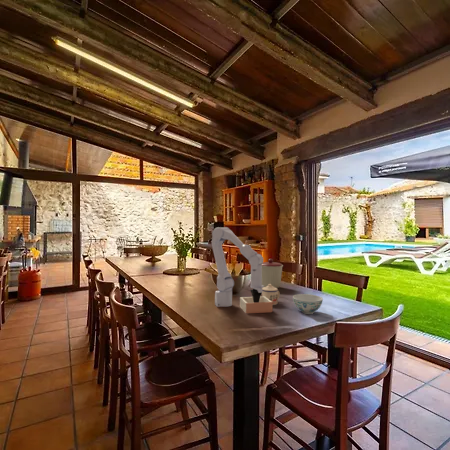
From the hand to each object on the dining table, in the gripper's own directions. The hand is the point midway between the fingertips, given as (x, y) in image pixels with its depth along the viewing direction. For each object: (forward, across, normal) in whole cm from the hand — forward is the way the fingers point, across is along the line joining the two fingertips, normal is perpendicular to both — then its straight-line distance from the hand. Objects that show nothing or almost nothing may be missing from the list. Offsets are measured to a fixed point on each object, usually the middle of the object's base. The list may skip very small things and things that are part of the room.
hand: (256, 303), depth 150 cm
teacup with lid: (+4, +12, -13) cm, 18 cm away
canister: (+4, +55, -28) cm, 62 cm away
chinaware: (+4, -6, -26) cm, 27 cm away
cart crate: (+4, +1, 0) cm, 4 cm away
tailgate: (+3, -5, 0) cm, 6 cm away
